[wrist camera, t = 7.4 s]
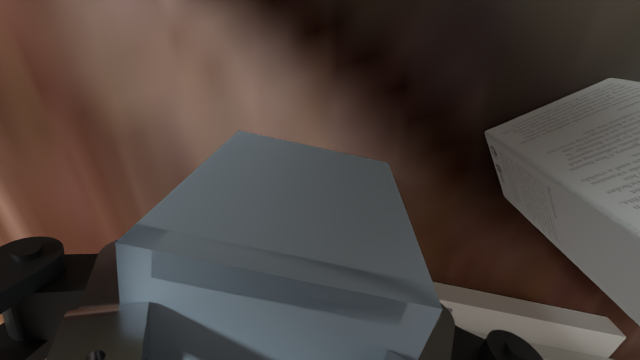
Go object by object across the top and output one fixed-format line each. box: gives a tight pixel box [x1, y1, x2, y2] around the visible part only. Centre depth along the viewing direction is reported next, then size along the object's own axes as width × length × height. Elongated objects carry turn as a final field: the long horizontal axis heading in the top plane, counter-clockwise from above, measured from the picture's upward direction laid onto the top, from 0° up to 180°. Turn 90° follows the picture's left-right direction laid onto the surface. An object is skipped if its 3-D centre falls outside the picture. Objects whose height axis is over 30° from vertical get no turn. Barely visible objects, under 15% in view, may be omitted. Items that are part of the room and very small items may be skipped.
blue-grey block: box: [115, 131, 443, 360], centre depth 10 cm, size 6×6×7 cm
